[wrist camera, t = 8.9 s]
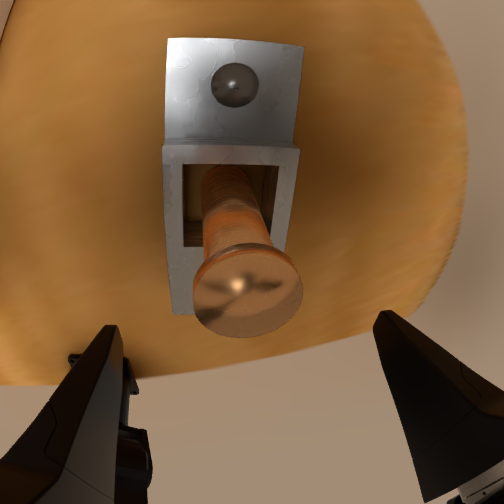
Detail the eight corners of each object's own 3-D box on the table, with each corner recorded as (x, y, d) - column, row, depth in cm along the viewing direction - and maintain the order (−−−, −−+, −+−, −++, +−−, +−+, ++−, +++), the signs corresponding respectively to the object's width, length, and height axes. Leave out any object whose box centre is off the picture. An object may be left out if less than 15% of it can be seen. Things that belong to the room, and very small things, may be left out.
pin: (253, 215, 21) (293, 334, 13) (192, 215, 20) (195, 340, 12) (259, 157, 19) (312, 254, 11) (193, 156, 18) (190, 257, 10)
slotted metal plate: (265, 283, 25) (275, 317, 22) (173, 286, 23) (172, 321, 20) (296, 47, 15) (318, 46, 12) (170, 39, 14) (163, 35, 11)
